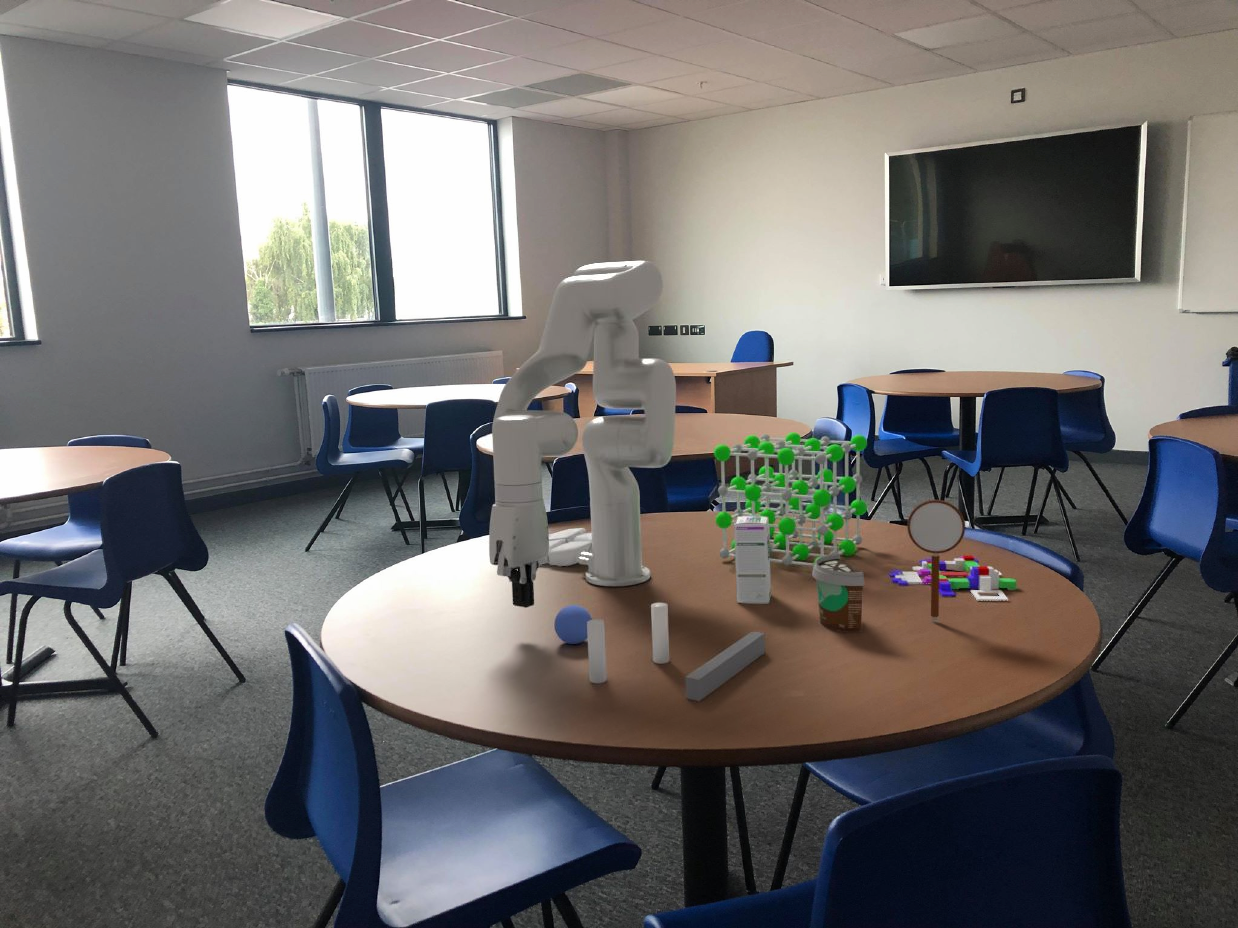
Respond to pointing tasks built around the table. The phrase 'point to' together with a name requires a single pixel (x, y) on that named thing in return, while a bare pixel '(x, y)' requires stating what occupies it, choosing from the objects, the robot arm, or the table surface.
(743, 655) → the stopper wall
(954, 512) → the magnifying glass
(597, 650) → the grey pin
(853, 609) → the food container
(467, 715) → the table surface
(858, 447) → the molecular structure model
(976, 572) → the building block set
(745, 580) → the syrup box
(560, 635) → the ball
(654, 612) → the white pin
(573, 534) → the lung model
